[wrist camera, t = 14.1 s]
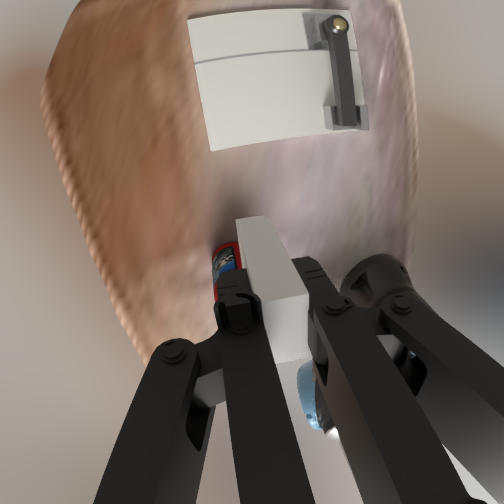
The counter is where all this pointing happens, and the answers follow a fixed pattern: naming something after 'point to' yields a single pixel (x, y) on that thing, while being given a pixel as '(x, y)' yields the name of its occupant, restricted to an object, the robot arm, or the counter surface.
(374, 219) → the counter surface
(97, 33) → the counter surface
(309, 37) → the grey latch pivot mount
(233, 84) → the door board
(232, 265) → the beverage can
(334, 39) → the latch bar
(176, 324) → the counter surface
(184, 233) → the counter surface
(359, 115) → the keeper
